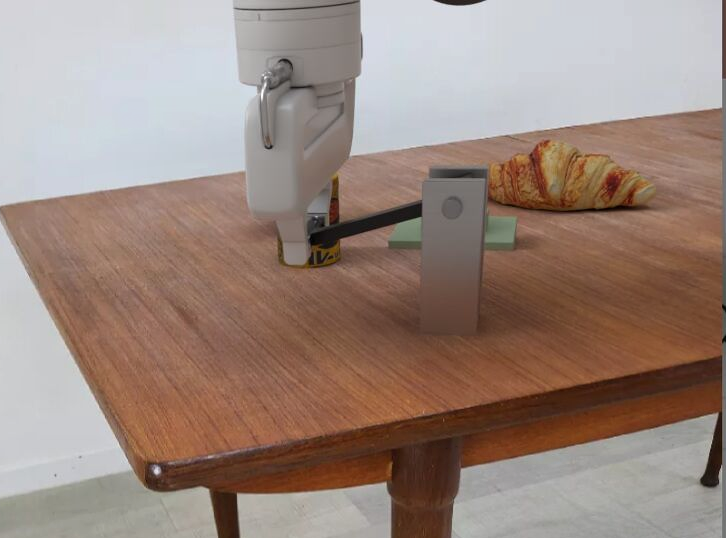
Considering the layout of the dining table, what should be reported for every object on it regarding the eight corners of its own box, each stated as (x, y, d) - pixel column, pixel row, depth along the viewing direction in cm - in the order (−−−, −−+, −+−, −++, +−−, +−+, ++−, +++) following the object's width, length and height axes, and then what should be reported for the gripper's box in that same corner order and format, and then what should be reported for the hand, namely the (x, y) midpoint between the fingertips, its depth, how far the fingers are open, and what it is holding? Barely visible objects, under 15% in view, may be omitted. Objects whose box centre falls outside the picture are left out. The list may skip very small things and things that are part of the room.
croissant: (651, 233, 108) (666, 160, 107) (648, 210, 99) (665, 131, 97) (470, 217, 115) (483, 149, 114) (452, 196, 106) (466, 121, 105)
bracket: (380, 357, 74) (380, 186, 67) (395, 320, 80) (396, 161, 73) (510, 362, 72) (524, 186, 65) (515, 324, 78) (528, 160, 71)
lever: (292, 268, 73) (282, 238, 72) (308, 247, 77) (299, 218, 76) (474, 219, 68) (467, 186, 67) (480, 200, 72) (473, 168, 71)
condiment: (337, 285, 88) (333, 149, 82) (250, 283, 90) (239, 149, 83) (351, 261, 94) (348, 132, 87) (269, 260, 96) (260, 133, 89)
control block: (515, 238, 98) (519, 198, 96) (511, 265, 91) (515, 222, 88) (400, 236, 100) (401, 197, 98) (388, 263, 93) (388, 221, 91)
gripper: (310, 72, 58) (319, 294, 66) (366, 32, 74) (368, 214, 82) (212, 74, 59) (232, 291, 67) (289, 35, 75) (298, 213, 83)
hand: (308, 248), depth 75 cm, fingers closed on lever, 5 cm apart
